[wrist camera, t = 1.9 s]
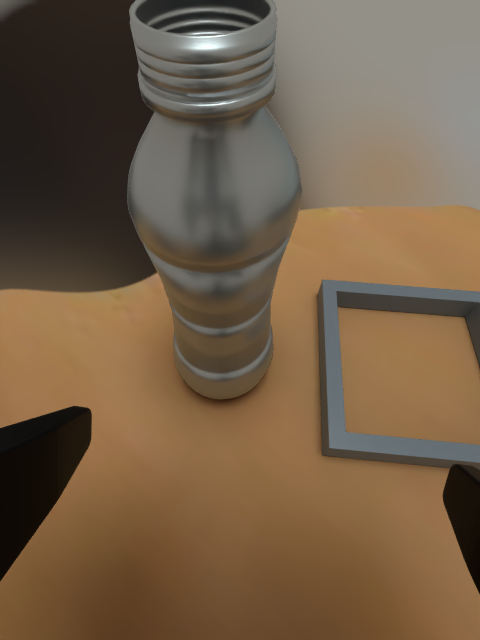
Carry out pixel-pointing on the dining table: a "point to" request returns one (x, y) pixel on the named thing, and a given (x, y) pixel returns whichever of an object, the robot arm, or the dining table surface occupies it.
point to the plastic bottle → (213, 182)
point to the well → (334, 436)
